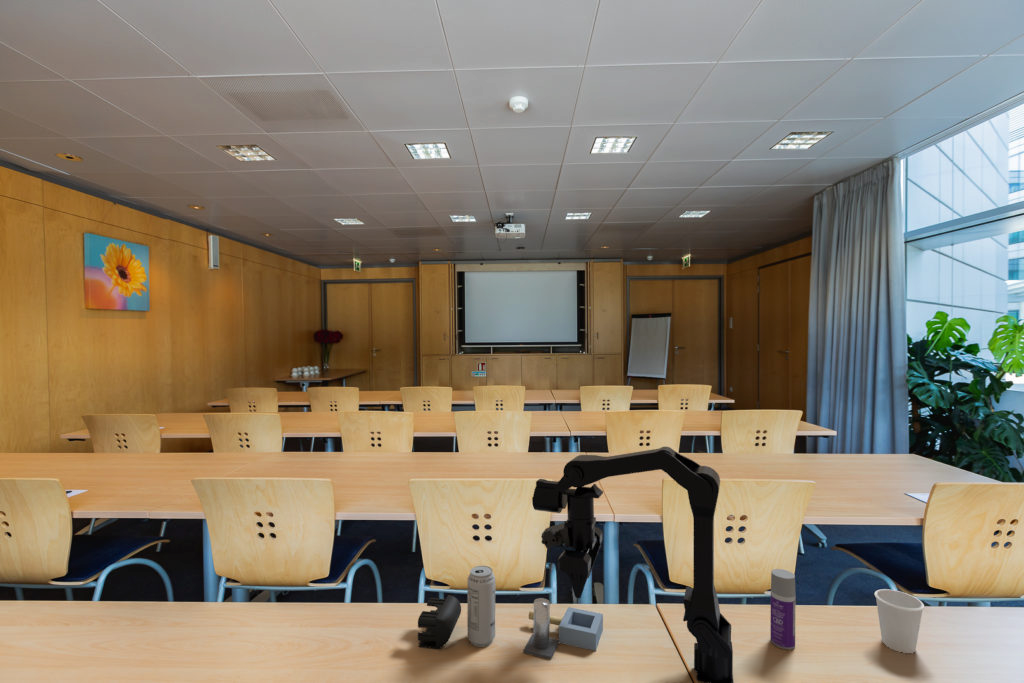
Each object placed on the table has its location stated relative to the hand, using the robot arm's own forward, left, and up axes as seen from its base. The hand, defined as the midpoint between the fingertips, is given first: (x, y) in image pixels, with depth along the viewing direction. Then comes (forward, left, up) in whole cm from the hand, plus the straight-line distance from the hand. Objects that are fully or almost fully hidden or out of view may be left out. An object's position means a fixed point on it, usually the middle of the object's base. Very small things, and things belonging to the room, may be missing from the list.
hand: (582, 587), depth 107 cm
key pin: (+7, +6, -11) cm, 14 cm away
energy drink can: (+20, +8, -12) cm, 25 cm away
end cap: (+29, +10, -12) cm, 33 cm away
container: (-41, -14, -12) cm, 44 cm away
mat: (+7, +6, -11) cm, 15 cm away
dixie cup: (-64, -22, -12) cm, 68 cm away
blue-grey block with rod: (+4, -1, -11) cm, 12 cm away
